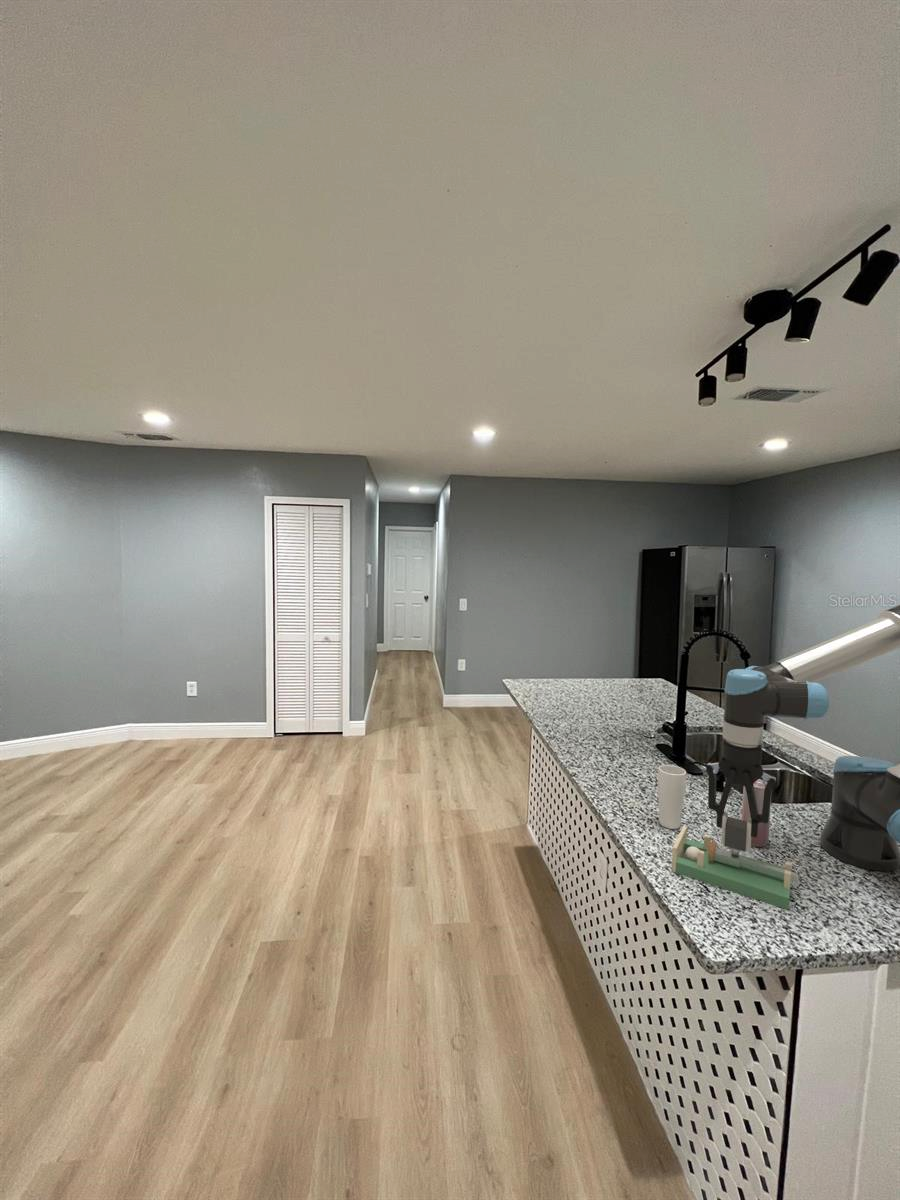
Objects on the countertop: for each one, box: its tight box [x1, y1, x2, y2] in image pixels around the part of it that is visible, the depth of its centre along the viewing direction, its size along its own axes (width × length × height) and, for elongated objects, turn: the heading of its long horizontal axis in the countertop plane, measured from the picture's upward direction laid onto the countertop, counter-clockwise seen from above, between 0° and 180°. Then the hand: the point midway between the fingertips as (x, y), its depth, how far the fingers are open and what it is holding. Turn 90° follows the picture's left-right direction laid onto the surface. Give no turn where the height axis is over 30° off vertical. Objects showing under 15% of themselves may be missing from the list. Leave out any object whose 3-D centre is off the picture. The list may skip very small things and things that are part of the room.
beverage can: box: [741, 778, 773, 848], centre depth 129 cm, size 6×6×15 cm
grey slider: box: [708, 816, 799, 884], centre depth 112 cm, size 16×4×9 cm, turn 55°
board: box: [671, 825, 793, 911], centre depth 115 cm, size 22×12×6 cm, turn 55°
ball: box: [686, 846, 699, 863], centre depth 119 cm, size 4×4×4 cm
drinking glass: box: [657, 764, 687, 830], centre depth 136 cm, size 7×7×15 cm
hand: (735, 845), depth 114 cm, fingers closed on grey slider, 4 cm apart
